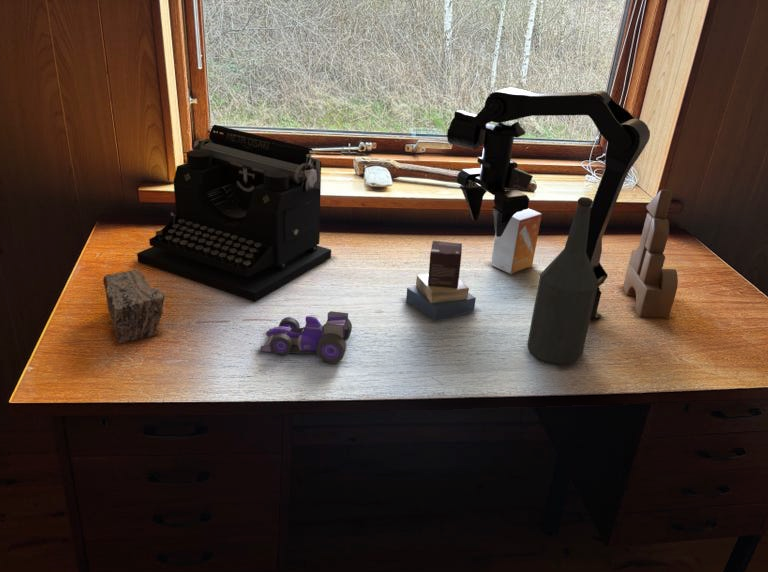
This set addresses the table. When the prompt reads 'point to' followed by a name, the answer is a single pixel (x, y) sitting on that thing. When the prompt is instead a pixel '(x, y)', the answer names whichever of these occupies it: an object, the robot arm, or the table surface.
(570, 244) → the bottle
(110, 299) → the stone block
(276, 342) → the toy race car
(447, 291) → the stack top
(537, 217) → the small box
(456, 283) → the box
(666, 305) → the wooden toy
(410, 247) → the table surface
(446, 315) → the stack base
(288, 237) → the typewriter
